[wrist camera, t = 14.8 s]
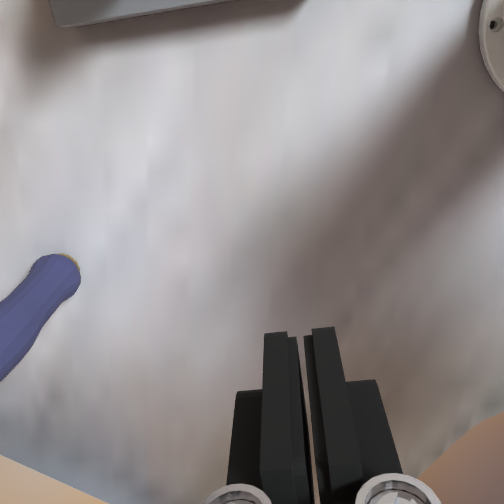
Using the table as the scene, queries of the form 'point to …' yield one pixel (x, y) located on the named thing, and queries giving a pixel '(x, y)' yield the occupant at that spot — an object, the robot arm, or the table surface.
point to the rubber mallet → (34, 306)
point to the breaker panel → (114, 9)
